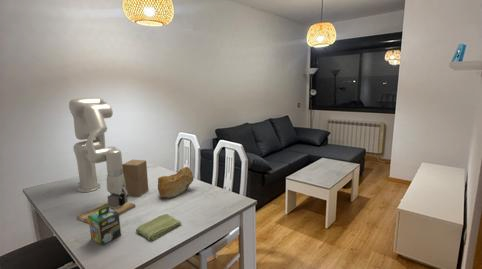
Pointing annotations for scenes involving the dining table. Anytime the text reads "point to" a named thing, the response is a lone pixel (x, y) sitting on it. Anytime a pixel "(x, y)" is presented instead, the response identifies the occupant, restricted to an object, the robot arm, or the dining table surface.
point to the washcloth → (158, 226)
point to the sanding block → (115, 200)
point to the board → (119, 209)
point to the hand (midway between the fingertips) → (118, 203)
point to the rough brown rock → (175, 183)
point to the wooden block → (135, 177)
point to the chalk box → (104, 225)
